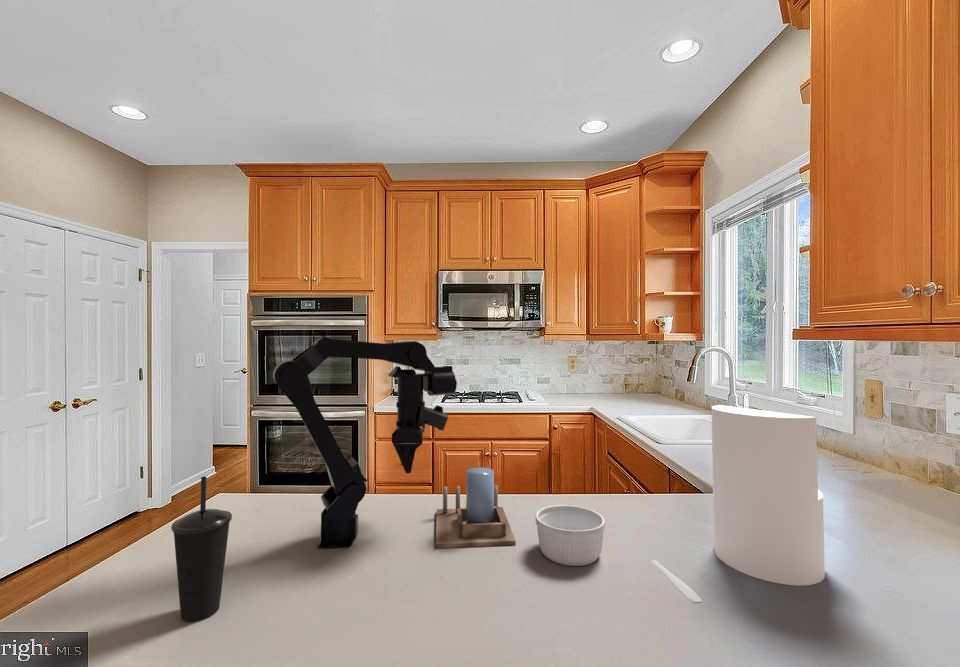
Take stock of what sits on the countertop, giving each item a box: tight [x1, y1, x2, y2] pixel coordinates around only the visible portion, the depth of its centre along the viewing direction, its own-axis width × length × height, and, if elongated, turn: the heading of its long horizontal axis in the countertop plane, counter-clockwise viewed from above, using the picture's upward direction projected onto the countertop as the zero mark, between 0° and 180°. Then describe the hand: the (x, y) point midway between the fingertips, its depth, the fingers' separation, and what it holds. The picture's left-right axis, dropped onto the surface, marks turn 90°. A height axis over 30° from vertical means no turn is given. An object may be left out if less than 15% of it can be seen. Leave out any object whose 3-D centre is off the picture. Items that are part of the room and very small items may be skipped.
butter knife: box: [650, 559, 702, 604], centre depth 79 cm, size 1×27×3 cm
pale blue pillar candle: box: [465, 467, 495, 524], centre depth 91 cm, size 6×6×12 cm
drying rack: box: [435, 484, 517, 549], centre depth 93 cm, size 16×18×7 cm
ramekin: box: [535, 504, 606, 567], centre depth 82 cm, size 13×13×7 cm
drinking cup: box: [170, 476, 233, 623], centre depth 63 cm, size 8×8×20 cm
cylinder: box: [711, 404, 826, 587], centre depth 80 cm, size 17×17×28 cm
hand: (409, 466), depth 94 cm, fingers open, 9 cm apart
